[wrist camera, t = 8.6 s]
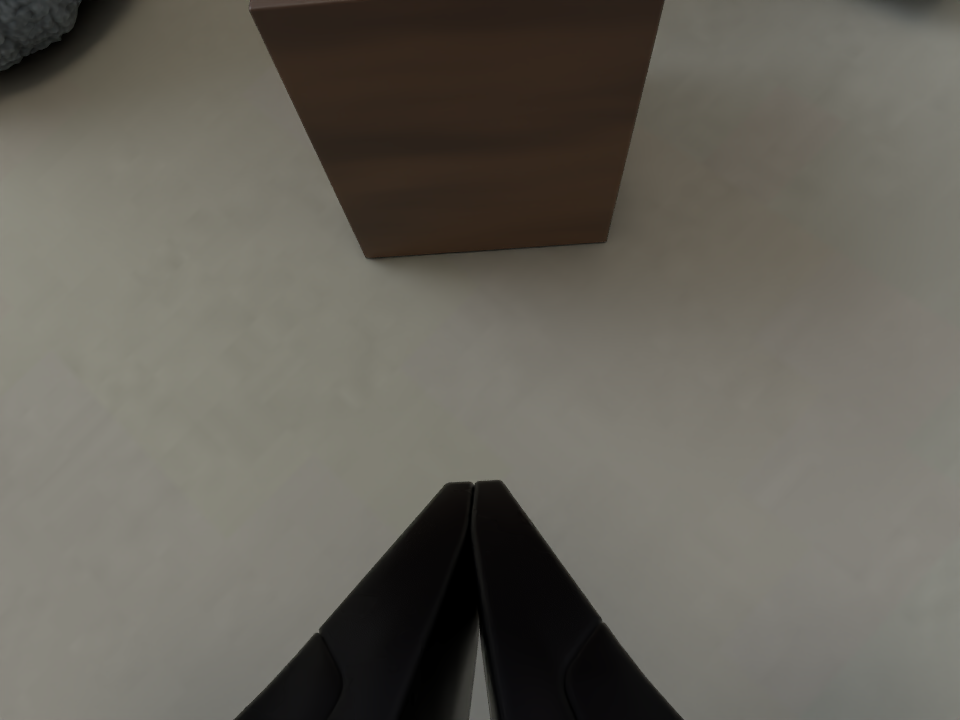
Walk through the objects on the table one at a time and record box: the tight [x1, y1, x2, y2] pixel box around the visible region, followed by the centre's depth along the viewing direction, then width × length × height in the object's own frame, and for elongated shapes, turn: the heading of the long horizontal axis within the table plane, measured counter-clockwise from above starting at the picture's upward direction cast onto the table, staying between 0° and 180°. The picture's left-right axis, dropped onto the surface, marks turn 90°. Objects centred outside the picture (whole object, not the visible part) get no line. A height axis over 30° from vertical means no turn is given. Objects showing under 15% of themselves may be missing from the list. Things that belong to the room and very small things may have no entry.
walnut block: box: [249, 0, 665, 258], centre depth 16 cm, size 8×8×9 cm
